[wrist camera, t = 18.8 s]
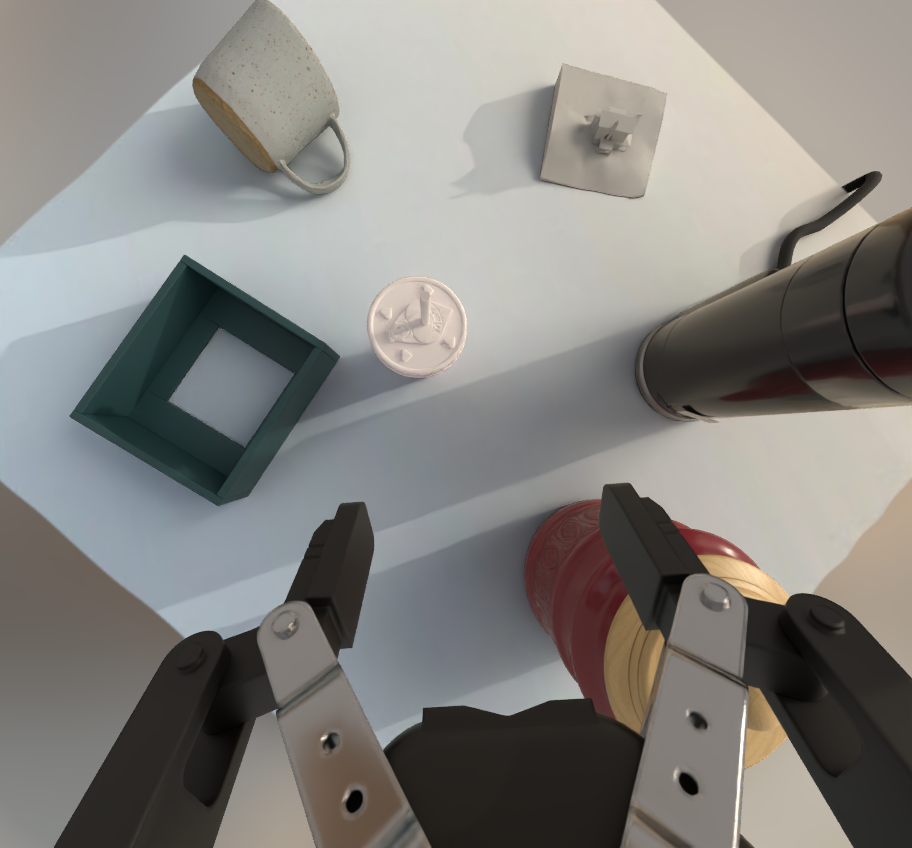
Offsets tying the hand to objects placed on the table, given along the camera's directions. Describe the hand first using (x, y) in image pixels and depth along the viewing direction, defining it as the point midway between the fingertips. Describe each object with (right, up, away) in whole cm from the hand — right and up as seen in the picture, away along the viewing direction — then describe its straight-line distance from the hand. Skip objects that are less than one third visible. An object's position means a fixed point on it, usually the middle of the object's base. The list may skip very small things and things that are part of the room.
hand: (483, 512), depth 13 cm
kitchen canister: (+11, -10, +21) cm, 26 cm away
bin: (-20, +6, +19) cm, 28 cm away
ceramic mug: (-15, +28, +20) cm, 37 cm away
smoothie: (-4, +9, +21) cm, 23 cm away
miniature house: (+12, +29, +22) cm, 39 cm away
